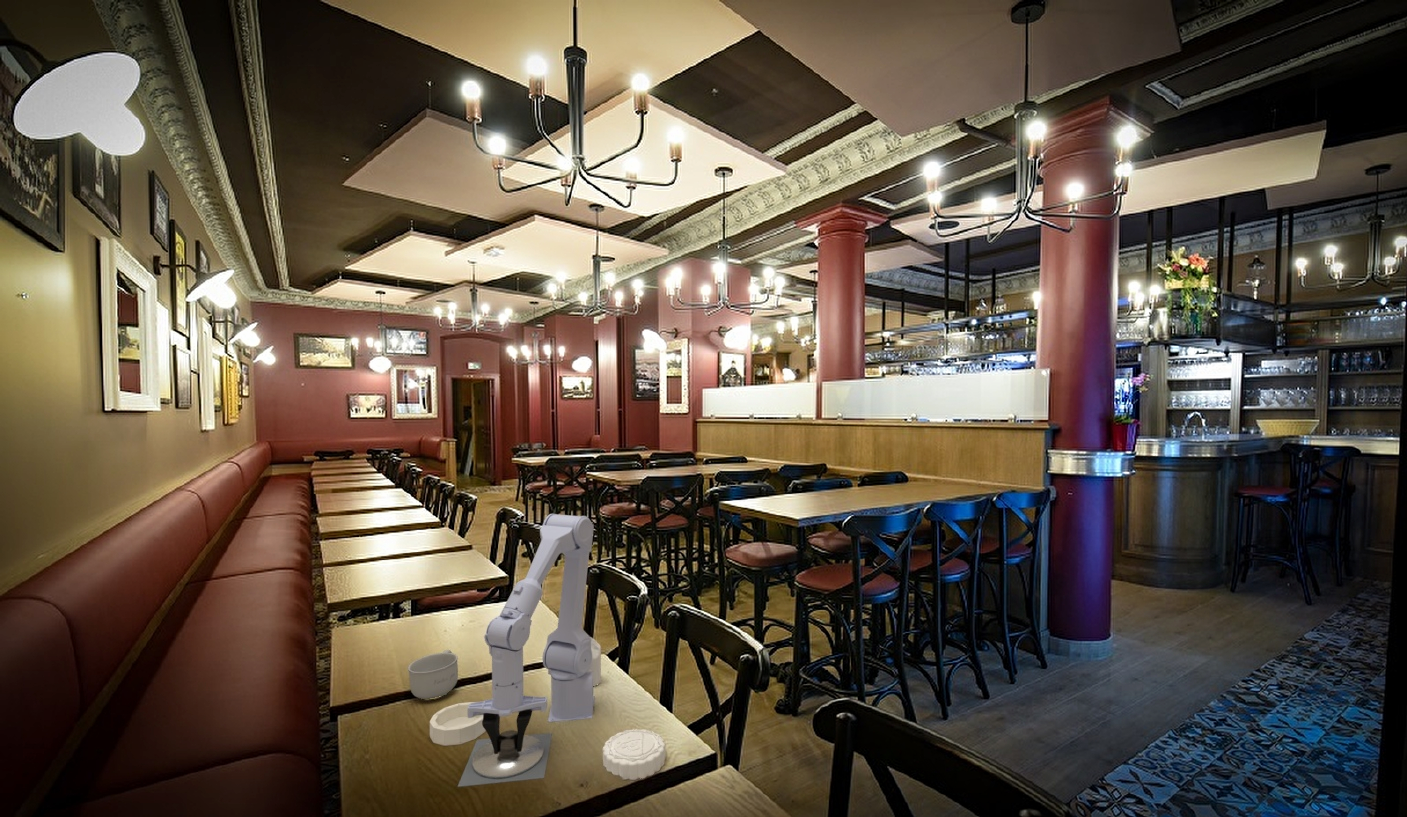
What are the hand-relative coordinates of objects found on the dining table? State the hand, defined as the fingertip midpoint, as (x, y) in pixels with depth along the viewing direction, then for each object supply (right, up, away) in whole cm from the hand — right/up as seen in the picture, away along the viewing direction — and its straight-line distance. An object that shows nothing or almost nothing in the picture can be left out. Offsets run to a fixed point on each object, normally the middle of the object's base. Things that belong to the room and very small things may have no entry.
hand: (508, 750), depth 113 cm
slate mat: (0, -2, 0) cm, 2 cm away
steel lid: (0, -2, 0) cm, 2 cm away
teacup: (-27, -3, +28) cm, 39 cm away
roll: (+9, -2, +32) cm, 33 cm away
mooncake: (+24, -2, 0) cm, 24 cm away
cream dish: (-14, -2, +10) cm, 17 cm away
